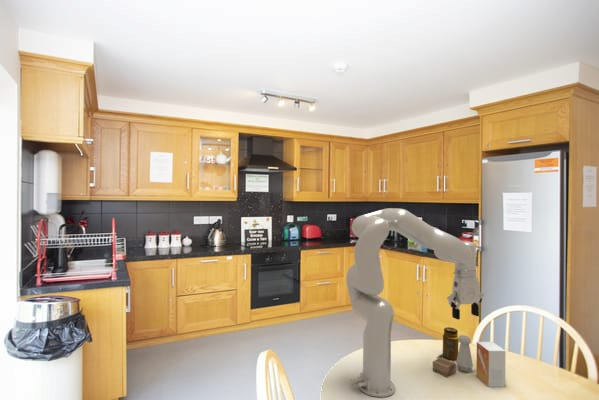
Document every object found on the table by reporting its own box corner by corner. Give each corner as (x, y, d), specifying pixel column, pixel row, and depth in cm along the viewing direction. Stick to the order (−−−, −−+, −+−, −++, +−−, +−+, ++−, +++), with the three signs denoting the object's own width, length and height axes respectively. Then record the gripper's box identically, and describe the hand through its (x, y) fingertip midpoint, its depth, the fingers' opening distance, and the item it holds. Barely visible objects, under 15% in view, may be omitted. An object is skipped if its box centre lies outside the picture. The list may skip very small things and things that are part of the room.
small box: (475, 375, 130) (476, 341, 130) (492, 375, 130) (492, 341, 131) (488, 387, 122) (488, 350, 122) (505, 387, 122) (506, 350, 122)
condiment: (462, 357, 145) (462, 329, 145) (453, 364, 139) (454, 334, 140) (444, 352, 151) (444, 324, 151) (436, 358, 145) (436, 329, 145)
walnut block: (446, 378, 129) (446, 367, 129) (432, 371, 134) (432, 361, 134) (456, 373, 132) (456, 363, 132) (441, 367, 137) (442, 357, 137)
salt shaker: (474, 374, 132) (474, 340, 132) (458, 372, 133) (458, 338, 133) (470, 366, 137) (470, 334, 137) (454, 365, 138) (455, 333, 138)
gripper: (455, 277, 129) (455, 322, 129) (490, 273, 135) (490, 317, 135) (440, 273, 136) (441, 316, 136) (474, 269, 142) (474, 311, 142)
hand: (465, 316), depth 135 cm, fingers open, 9 cm apart
